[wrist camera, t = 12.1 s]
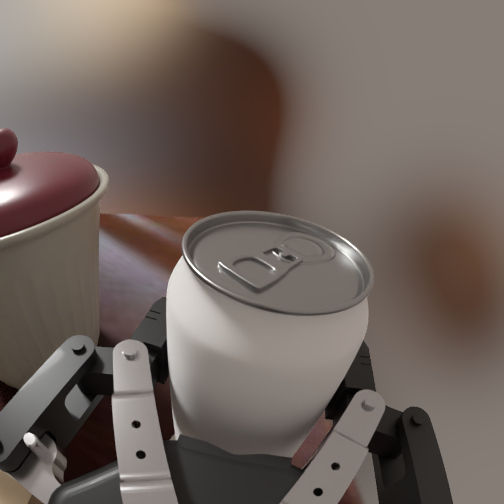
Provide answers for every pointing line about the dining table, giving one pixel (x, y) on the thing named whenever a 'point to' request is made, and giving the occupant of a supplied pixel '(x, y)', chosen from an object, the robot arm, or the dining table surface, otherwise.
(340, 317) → the can
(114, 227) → the dining table surface
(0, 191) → the canister
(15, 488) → the beech block
